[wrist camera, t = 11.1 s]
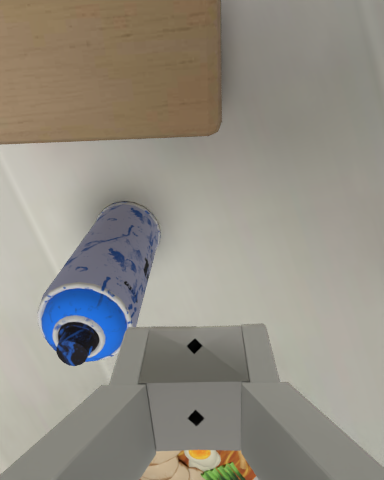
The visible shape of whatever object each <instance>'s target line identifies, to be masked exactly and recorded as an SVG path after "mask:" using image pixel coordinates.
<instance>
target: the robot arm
mask: <svg viewBox="0 0 384 480" xmlns="http://www.w3.org/2000/svg"><path fill="white" fill-rule="evenodd" d="M198 449H199V450H230V451H241V453H242V455H243V456H244V458H245V459H246V461H247V463H248V464H249V466H250V467H251V469H252V470H253V472H254V473H255V475H256V476H257V478H258V479H259V480H384V467H383V466H382V465H380V464H379V463H378V462H377V461H376V460H375V459H374V458H373V457H371V456H370V455H369V454H368V453H367V452H366V451H365V450H364V449H362V448H361V447H360V446H359V445H358V444H357V443H356V442H355V441H353V440H352V439H351V438H350V437H349V436H348V435H347V434H346V433H345V432H343V431H342V430H341V429H340V428H339V427H338V426H337V425H336V424H334V423H333V422H332V421H331V420H330V419H329V418H328V417H327V416H325V415H324V414H323V413H322V412H321V411H320V410H319V409H318V408H316V407H315V406H314V405H313V404H312V403H311V402H310V401H309V400H307V399H306V398H305V397H304V396H303V395H302V394H301V393H300V392H299V391H297V390H296V389H295V388H294V387H293V386H292V385H291V384H290V383H288V382H280V379H279V376H278V372H277V368H276V364H275V360H274V356H273V352H272V348H271V344H270V340H269V336H268V333H267V329H266V326H265V325H264V324H243V325H241V326H240V325H233V326H201V327H196V326H191V327H128V329H127V330H126V331H125V334H124V337H123V340H122V344H121V347H120V350H119V353H118V357H117V360H116V363H115V366H114V370H113V373H112V376H111V380H110V383H109V385H101V386H100V387H99V388H98V389H97V390H96V391H95V392H93V393H92V394H91V395H90V396H89V397H88V398H87V399H85V400H84V401H83V402H82V403H81V404H80V405H79V406H78V407H76V408H75V409H74V410H73V411H72V412H71V413H70V414H69V415H67V416H66V417H65V418H64V419H63V420H62V421H61V422H59V423H58V424H57V425H56V426H55V427H54V428H53V429H52V430H50V431H49V432H48V433H47V434H46V435H45V436H44V437H43V438H41V439H40V440H39V441H38V442H37V443H36V444H35V445H33V446H32V447H31V448H30V449H29V450H28V451H27V452H26V453H24V454H23V455H22V456H21V457H20V458H19V459H18V460H16V461H15V462H14V463H13V464H12V465H11V466H10V467H9V468H7V469H6V470H5V471H4V472H3V473H2V474H1V475H0V480H139V479H140V478H141V476H142V475H143V473H144V472H145V470H146V469H147V467H148V466H149V464H150V463H151V461H152V460H153V458H154V457H155V455H156V451H181V450H198Z"/></svg>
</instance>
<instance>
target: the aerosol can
mask: <svg viewBox="0 0 384 480" xmlns="http://www.w3.org/2000/svg"><path fill="white" fill-rule="evenodd" d="M160 234H161V232H160V228H159V223H158V222H157V220H156V218H155V217H154V215H153V214H152V213H151V212H150V211H149V210H147V209H146V208H145V207H143V206H141V205H139V204H136V203H132V202H125V201H124V202H118V203H113V204H111V205H110V206H108V207H106V208H105V209H104V210H103V211H102V212H101V213H100V214H99V215H98V217H97V219H96V222H95V224H94V225H93V226H92V228H91V229H90V231H89V232H88V233H87V235H86V236H85V238H84V239H83V240H82V242H81V243H80V245H79V246H78V247H77V249H76V250H75V251H74V253H73V254H72V256H71V257H70V258H69V260H68V261H67V263H66V264H65V265H64V267H63V268H62V270H61V271H60V272H59V274H58V275H57V277H56V278H55V279H54V281H53V282H52V283H51V285H50V286H49V288H48V289H47V290H46V292H45V293H44V295H43V297H42V300H41V303H40V306H39V309H38V326H39V328H40V330H41V332H42V334H43V337H44V338H45V339H46V340H47V342H48V343H49V344H50V345H51V346H52V348H53V349H54V350H55V351H57V355H58V357H59V358H60V359H61V360H62V361H63V362H64V363H66V364H68V365H71V366H77V365H81V364H82V363H83V362H89V361H97V360H102V359H106V358H109V357H111V356H114V355H116V354H117V353H118V352H119V350H120V347H121V344H122V340H123V337H124V334H125V331H126V330H127V329H128V327H136V324H137V320H138V317H139V313H140V309H141V305H142V301H143V297H144V294H145V290H146V286H147V282H148V278H149V274H150V271H151V267H152V263H153V259H154V255H155V251H156V249H157V247H158V245H159V242H160Z"/></svg>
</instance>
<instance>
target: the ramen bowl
mask: <svg viewBox="0 0 384 480" xmlns="http://www.w3.org/2000/svg"><path fill="white" fill-rule="evenodd" d="M139 480H259V479H258V478H257V476H256V475H255V473H254V472H253V470H252V469H251V467H250V466H249V464H248V463H247V461H246V459H245V458H244V456H243V455H242V453H241V451H230V450H199V449H198V450H181V451H156V455H155V457H154V458H153V460H152V461H151V463H150V464H149V466H148V467H147V469H146V470H145V472H144V473H143V475H142V476H141V478H140V479H139Z"/></svg>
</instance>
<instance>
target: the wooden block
mask: <svg viewBox="0 0 384 480" xmlns="http://www.w3.org/2000/svg"><path fill="white" fill-rule="evenodd" d="M221 122H222V95H221V0H0V144H23V143H47V142H72V141H96V140H120V139H144V138H169V137H193V136H210V135H212V134H214V133H216V132H218V130H219V128H220V125H221Z"/></svg>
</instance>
